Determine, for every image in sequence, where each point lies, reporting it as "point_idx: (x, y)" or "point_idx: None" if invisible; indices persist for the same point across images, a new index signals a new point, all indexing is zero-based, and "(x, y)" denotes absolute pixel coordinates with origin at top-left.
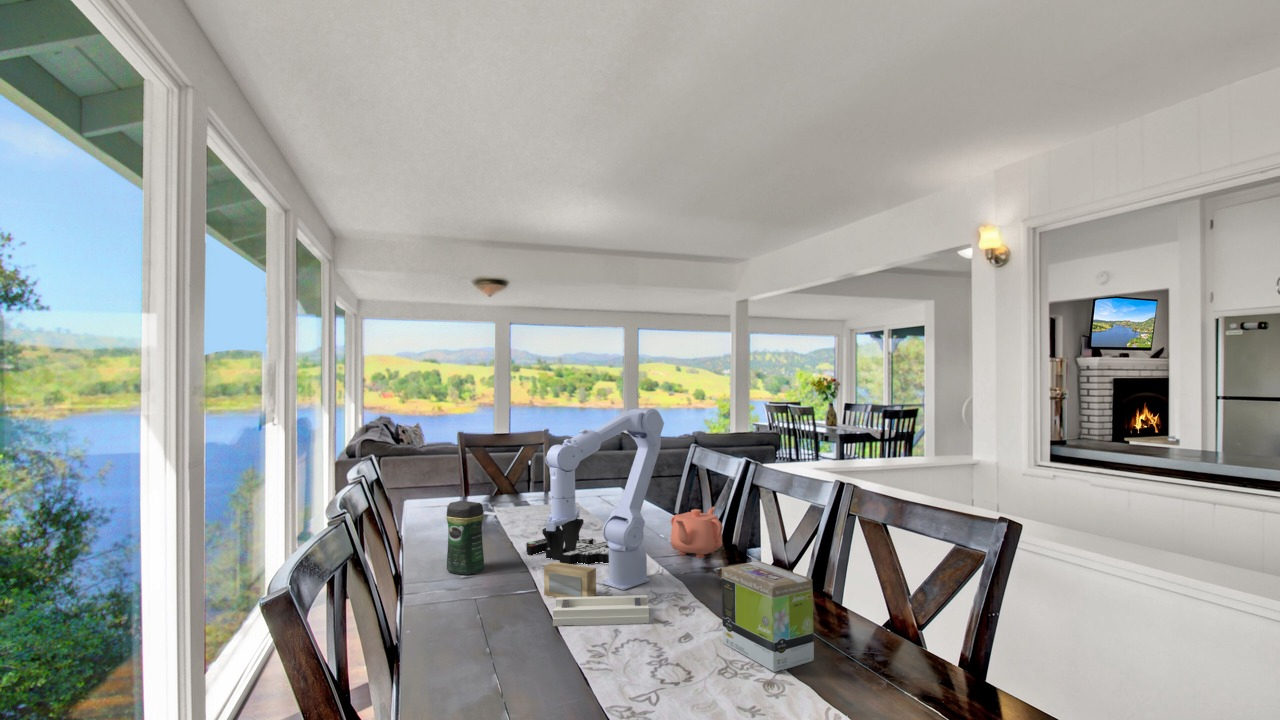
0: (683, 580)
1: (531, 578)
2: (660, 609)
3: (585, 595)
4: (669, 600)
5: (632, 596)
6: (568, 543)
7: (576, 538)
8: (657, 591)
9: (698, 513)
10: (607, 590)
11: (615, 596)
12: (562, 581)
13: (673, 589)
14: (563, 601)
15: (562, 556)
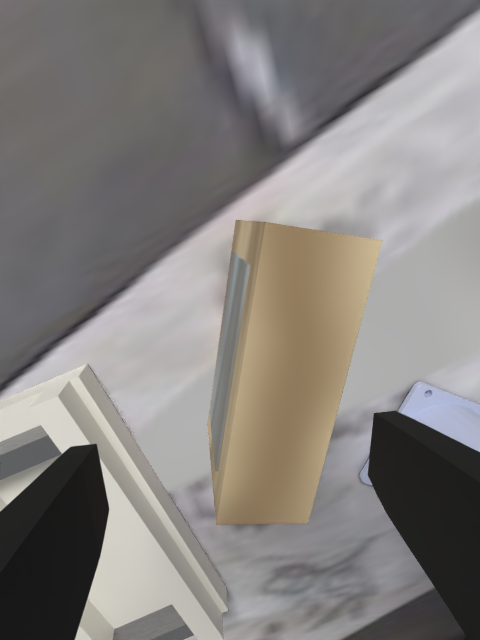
0: None
1: (461, 10)
2: (228, 614)
3: (210, 435)
4: (304, 604)
5: (194, 615)
6: (416, 479)
7: (452, 606)
8: (371, 553)
9: None
10: (352, 427)
11: (173, 575)
12: (228, 347)
13: (395, 578)
14: (23, 448)
15: (102, 541)
